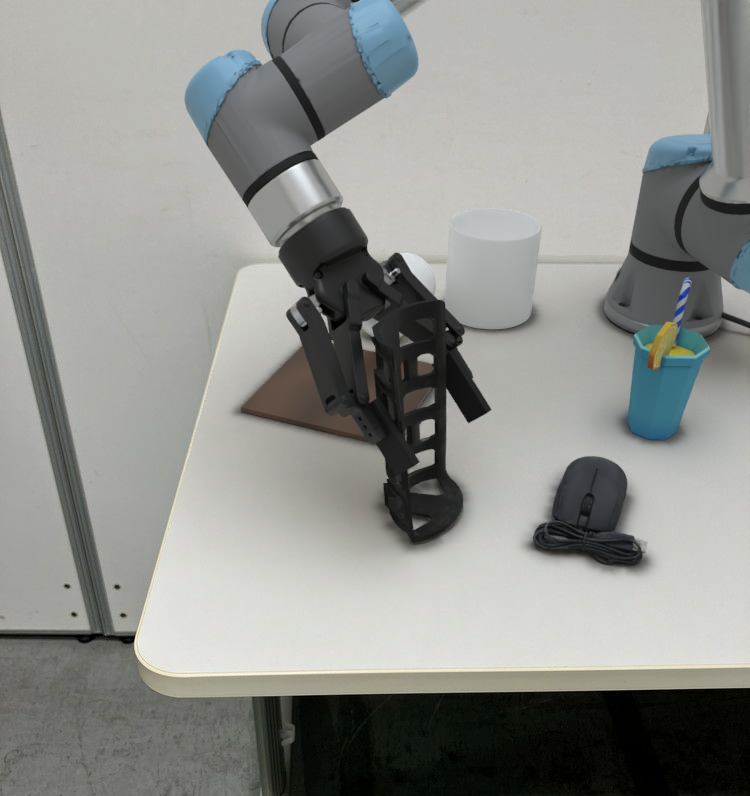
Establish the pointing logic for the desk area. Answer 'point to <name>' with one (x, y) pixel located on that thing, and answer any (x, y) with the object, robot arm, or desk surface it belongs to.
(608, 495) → the computer mouse
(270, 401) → the board
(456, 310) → the cup
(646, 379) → the cup
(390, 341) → the holder
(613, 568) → the desk surface
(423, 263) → the mug
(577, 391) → the desk surface
